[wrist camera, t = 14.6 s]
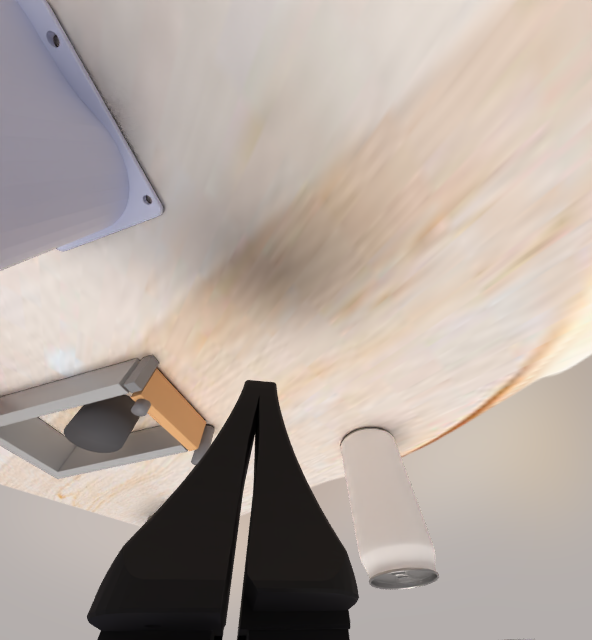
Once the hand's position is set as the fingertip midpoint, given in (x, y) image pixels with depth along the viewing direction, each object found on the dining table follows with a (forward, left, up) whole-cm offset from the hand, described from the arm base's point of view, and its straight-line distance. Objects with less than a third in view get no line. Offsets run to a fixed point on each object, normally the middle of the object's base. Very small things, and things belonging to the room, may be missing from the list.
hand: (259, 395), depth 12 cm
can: (+22, +4, -10) cm, 24 cm away
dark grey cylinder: (+7, -20, -10) cm, 23 cm away
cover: (+9, -13, -9) cm, 18 cm away
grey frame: (+7, -21, -9) cm, 24 cm away
